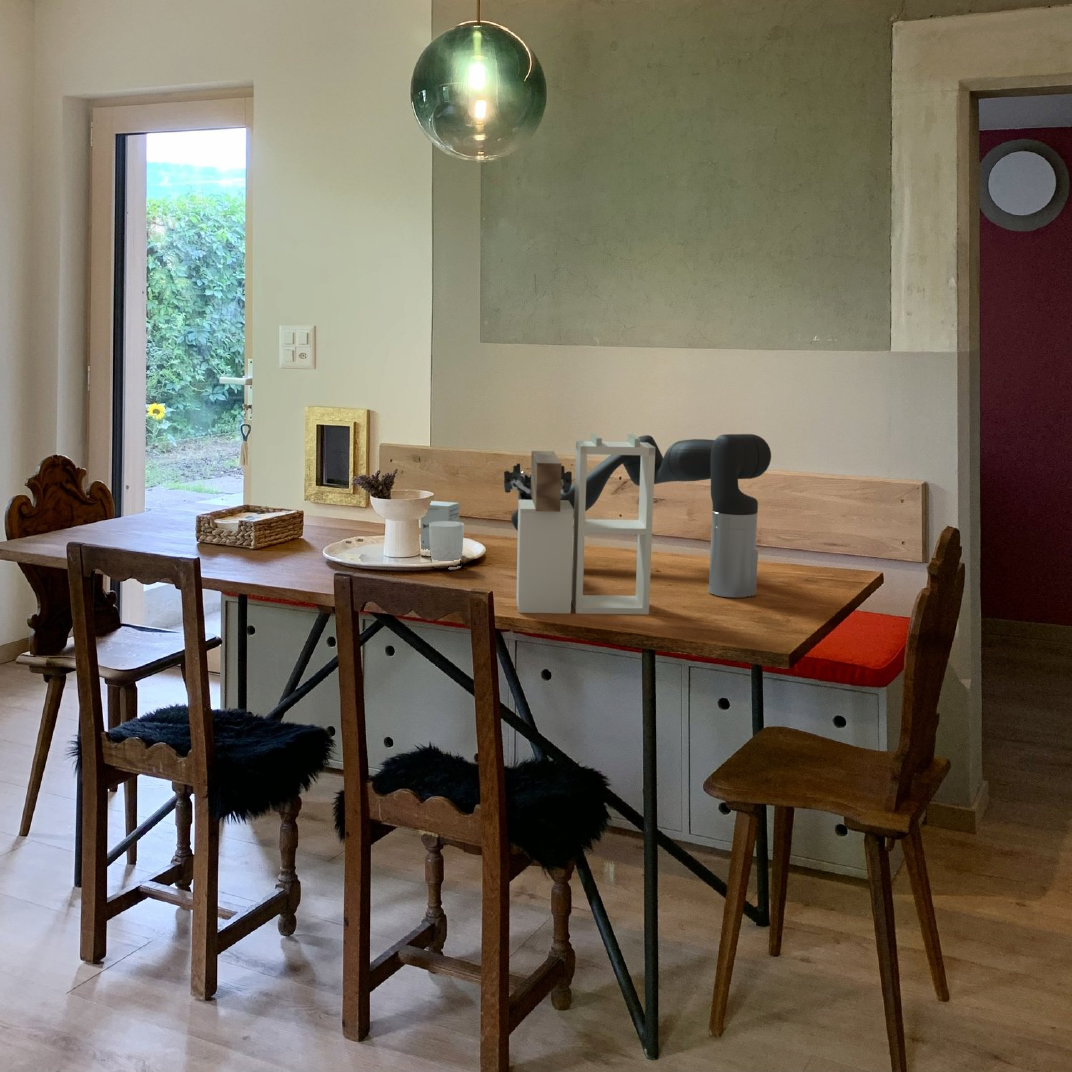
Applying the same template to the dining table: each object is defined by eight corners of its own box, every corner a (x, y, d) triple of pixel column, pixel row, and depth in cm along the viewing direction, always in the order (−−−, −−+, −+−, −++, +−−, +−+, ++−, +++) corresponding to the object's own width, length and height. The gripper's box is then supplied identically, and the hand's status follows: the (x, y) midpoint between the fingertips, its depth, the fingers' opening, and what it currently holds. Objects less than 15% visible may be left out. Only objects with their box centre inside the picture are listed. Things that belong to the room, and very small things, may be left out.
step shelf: (639, 599, 242) (646, 434, 236) (648, 614, 229) (655, 439, 223) (516, 598, 240) (519, 431, 235) (518, 612, 228) (522, 436, 222)
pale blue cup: (432, 571, 266) (432, 526, 265) (425, 564, 274) (426, 521, 272) (466, 570, 269) (467, 526, 267) (459, 563, 276) (460, 520, 274)
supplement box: (419, 556, 284) (419, 503, 281) (431, 551, 291) (431, 500, 288) (448, 558, 281) (448, 505, 279) (459, 553, 288) (460, 501, 286)
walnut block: (552, 494, 246) (553, 451, 244) (560, 511, 222) (561, 463, 220) (530, 494, 245) (531, 450, 244) (536, 511, 222) (537, 462, 220)
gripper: (568, 514, 260) (574, 484, 245) (502, 514, 259) (504, 484, 244) (567, 482, 263) (573, 451, 248) (502, 482, 262) (504, 450, 247)
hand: (539, 467), depth 246 cm, fingers open, 8 cm apart
